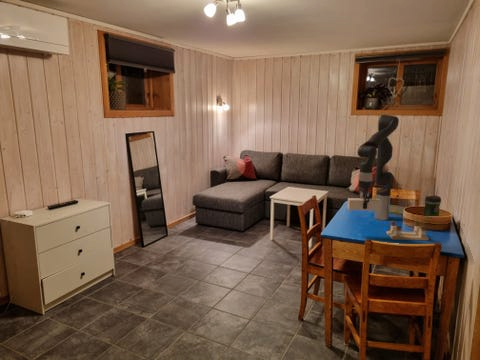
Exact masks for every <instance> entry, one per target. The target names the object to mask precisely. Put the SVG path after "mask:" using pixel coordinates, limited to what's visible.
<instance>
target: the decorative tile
mask: <svg viewBox="0 0 480 360" xmlns="http://www.w3.org/2000/svg"><path fill="white" fill-rule="evenodd" d="M404 208H406V207H405V206H401V205H398V204H397V205H394V204H390V208H389V215H394V216H400V217H404V216H403V209H404Z"/></svg>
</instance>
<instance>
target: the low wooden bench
mask: <svg viewBox="0 0 480 360" xmlns="http://www.w3.org/2000/svg"><path fill="white" fill-rule="evenodd" d="M426 230H427V227H426V226H425V225H421V226H420V222H419V221H414V227H413V231H408V230H407V231H403V230H402V226H401V225H396V221H394V220H391V221H390V230H386V234H387V235H388V237H390V238H391V239H392V240H395V241H396V240H397V241H399V240H400V241H407V240H408V241H429V239H430V238H429V237H428V236H427V235H426Z"/></svg>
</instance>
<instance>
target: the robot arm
mask: <svg viewBox="0 0 480 360" xmlns="http://www.w3.org/2000/svg"><path fill="white" fill-rule="evenodd" d="M377 122H378V123H377V124H378V125H377V129H378V130H377V132H375V133H374V134H372V135H371V137H369V139H368V140H367V141H365V142H364V143H362V144H361V145H359V147H358V149H357V151H356V152H357V156H358V157H359V158H361V159H367V160H366V161H362V162H360V164H359V172H358V173H359V174H358V185H357V186H358V188H359V189H358V193H359V194H358V196H359V197H358V198H362V199H363V209H367V203H368V202H369V199H371V192H370V191H369V189H372V188H373V167H374V162H375V160H376V169H375V177H374V182H375V184H376V185H379V186H385V187H383V188H380V189H377V190H376V193H375V194H376V195H375V199H379V200H381V208H380V211H374V219H376V220H381V221H388V220H389V219H390V217H389V216H390V214H389V208H390V205H391V193H392V192H391V190H392V182H393V173H392V172H388V171H382V170H383V168H384V167H385V166H386V165H387V164H388V162H389V161H391V159H392V158H393V150H394V149H393V145H392V143H391V141H390V140H389V137H390V136H391V134H392V133H394V132H395V131H396V129H397V128H398V126H399V123H400V120H399V117H398V116H395V115H389V114H388V115H387V114H381V115H380V116H379V118H378V121H377ZM366 199H367V200H366Z"/></svg>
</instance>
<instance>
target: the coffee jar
mask: <svg viewBox="0 0 480 360" xmlns="http://www.w3.org/2000/svg"><path fill="white" fill-rule="evenodd" d="M441 203H442V198H441V196H438V195H429V196H425V197H424V210H423V215H424V216H439V217H440V205H441Z"/></svg>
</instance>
